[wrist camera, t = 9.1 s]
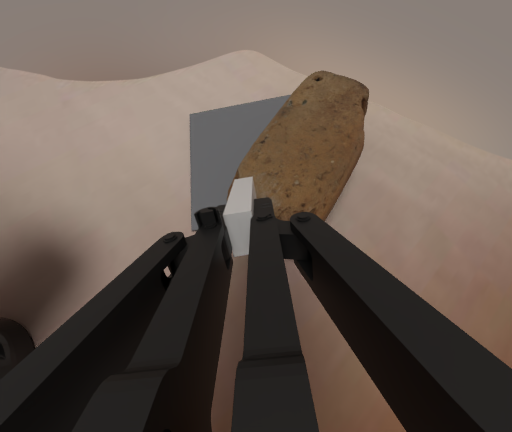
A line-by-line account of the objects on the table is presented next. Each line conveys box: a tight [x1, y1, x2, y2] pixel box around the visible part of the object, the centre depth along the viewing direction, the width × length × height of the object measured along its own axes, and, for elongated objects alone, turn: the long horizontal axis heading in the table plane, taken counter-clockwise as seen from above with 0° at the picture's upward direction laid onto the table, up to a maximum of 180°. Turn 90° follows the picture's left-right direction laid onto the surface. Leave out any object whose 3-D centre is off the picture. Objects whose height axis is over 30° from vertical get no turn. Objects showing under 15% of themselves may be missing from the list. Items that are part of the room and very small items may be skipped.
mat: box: [190, 95, 291, 231], centre depth 29 cm, size 18×20×1 cm
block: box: [227, 71, 369, 221], centre depth 24 cm, size 11×8×20 cm
